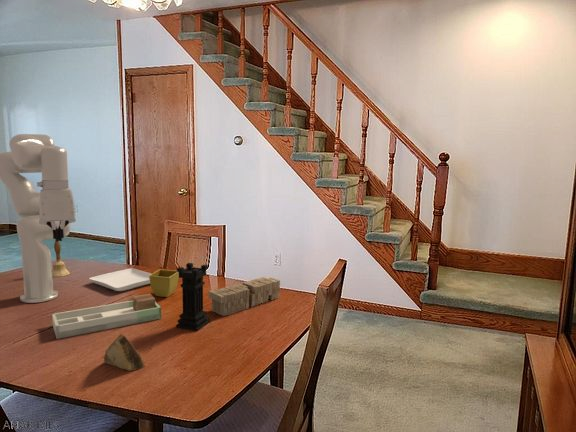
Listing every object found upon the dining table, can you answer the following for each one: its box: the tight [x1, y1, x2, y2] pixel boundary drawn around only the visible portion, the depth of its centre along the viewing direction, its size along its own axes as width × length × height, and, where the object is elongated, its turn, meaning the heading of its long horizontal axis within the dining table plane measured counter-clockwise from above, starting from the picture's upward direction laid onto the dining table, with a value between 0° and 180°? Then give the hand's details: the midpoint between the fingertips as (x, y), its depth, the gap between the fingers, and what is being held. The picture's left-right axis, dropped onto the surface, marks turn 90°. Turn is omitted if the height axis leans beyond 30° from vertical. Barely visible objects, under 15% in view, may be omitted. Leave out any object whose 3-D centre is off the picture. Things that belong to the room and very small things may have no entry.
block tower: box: [208, 276, 281, 317], centre depth 166 cm, size 8×8×29 cm
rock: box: [103, 333, 146, 371], centre depth 120 cm, size 11×9×10 cm
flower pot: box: [149, 269, 179, 298], centre depth 174 cm, size 9×9×9 cm
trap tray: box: [51, 299, 162, 340], centre depth 147 cm, size 12×32×4 cm, turn 123°
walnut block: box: [132, 293, 156, 311], centre depth 153 cm, size 6×6×4 cm
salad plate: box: [88, 267, 152, 292], centre depth 187 cm, size 21×21×3 cm
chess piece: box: [175, 262, 211, 332], centre depth 145 cm, size 8×8×20 cm
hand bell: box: [52, 239, 71, 278], centre depth 196 cm, size 8×8×16 cm
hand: (58, 240), depth 146 cm, fingers closed
